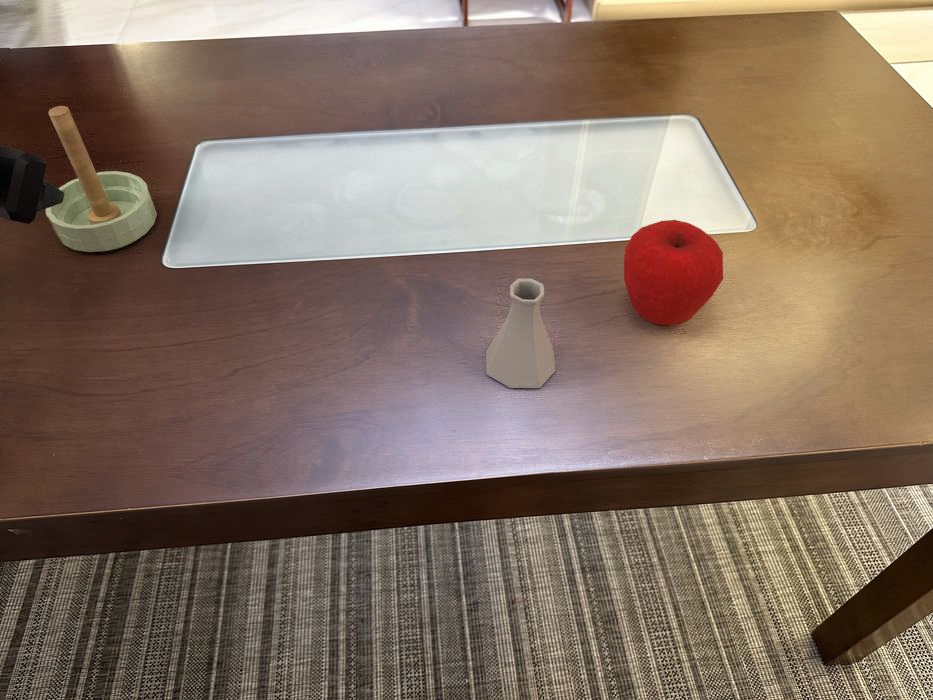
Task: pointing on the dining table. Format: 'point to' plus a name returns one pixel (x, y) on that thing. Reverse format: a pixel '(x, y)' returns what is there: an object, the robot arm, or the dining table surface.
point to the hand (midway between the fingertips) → (26, 188)
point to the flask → (522, 341)
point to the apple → (671, 271)
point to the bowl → (107, 235)
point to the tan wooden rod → (83, 167)
